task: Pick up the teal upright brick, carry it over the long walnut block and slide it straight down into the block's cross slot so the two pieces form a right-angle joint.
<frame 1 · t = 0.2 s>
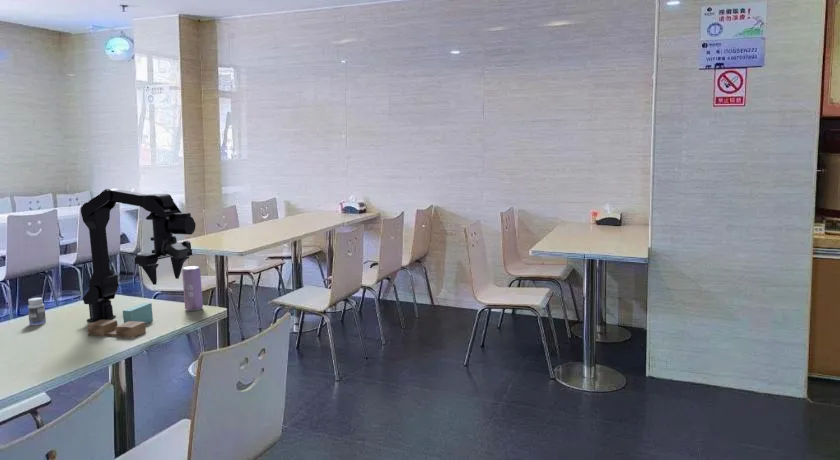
hand: (166, 281, 204), 14 cm above the table, fingers open, 9 cm apart
pill bottle: (38, 324, 210), on the table
beverage can: (194, 309, 223), on the table
teal upright brick: (138, 324, 206), on the table
slotted block: (117, 333, 196), on the table
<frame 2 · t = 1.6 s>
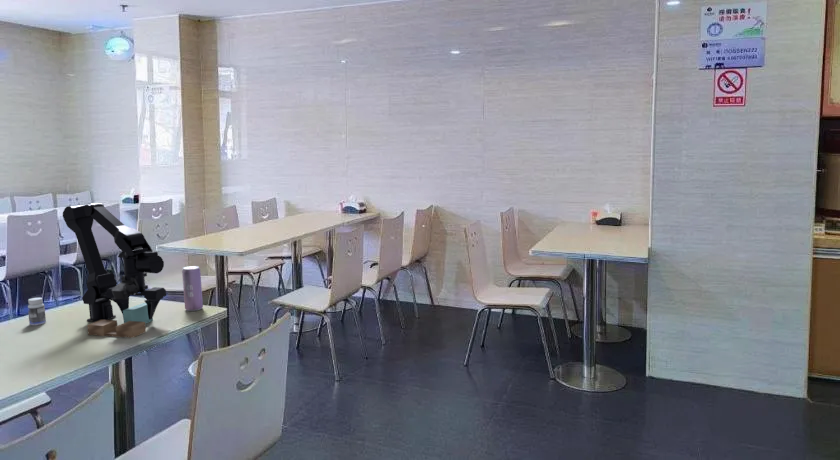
hand: (138, 318, 206), 2 cm above the table, fingers open, 9 cm apart
nothing on the table moved.
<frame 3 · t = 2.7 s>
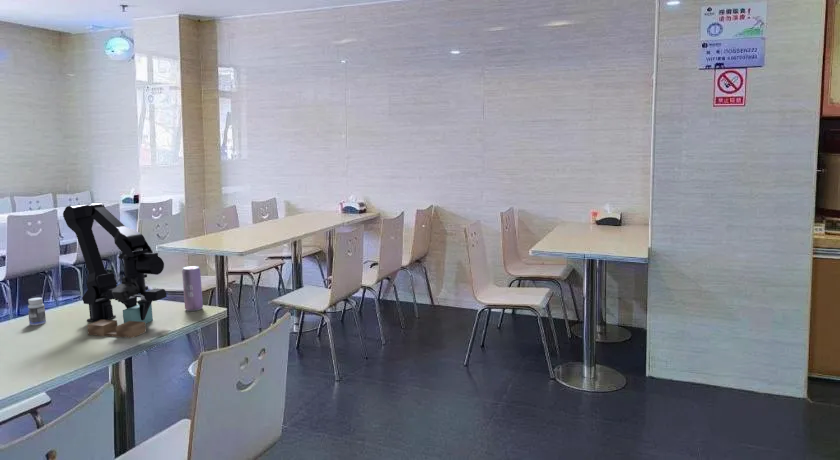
hand: (138, 319, 206), 2 cm above the table, fingers closed on teal upright brick, 3 cm apart
teal upright brick: (138, 324, 206), on the table, touching gripper
everything else where it was.
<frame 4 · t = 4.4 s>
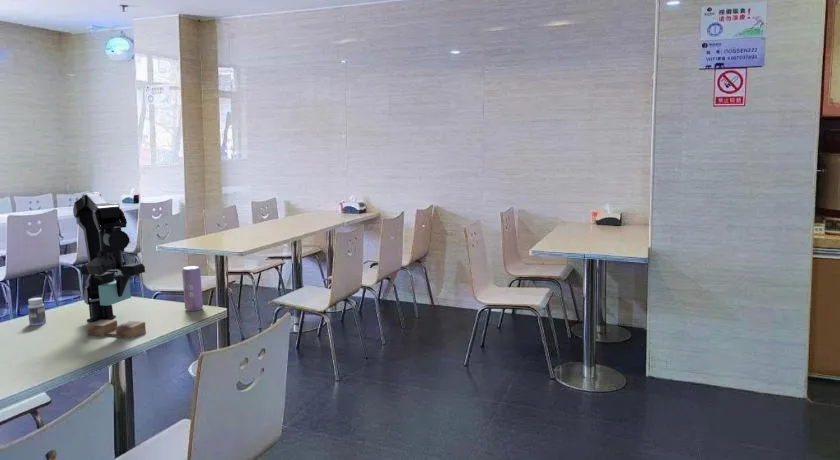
hand: (115, 296, 195), 12 cm above the table, fingers closed on teal upright brick, 3 cm apart
teal upright brick: (115, 301, 195), point 10 cm above the table, touching gripper
everything else where it was.
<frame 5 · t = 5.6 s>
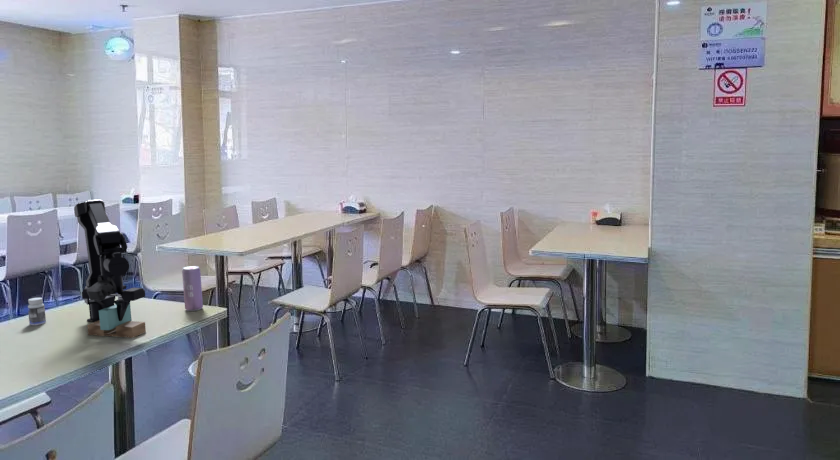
hand: (115, 320, 196), 4 cm above the table, fingers closed on teal upright brick, 3 cm apart
teal upright brick: (116, 325, 196), point 3 cm above the table, touching gripper
everything else where it was.
when the fingers open (4 cm above the table, at t = 6.2 s): teal upright brick drops 2 cm, resting on slotted block.
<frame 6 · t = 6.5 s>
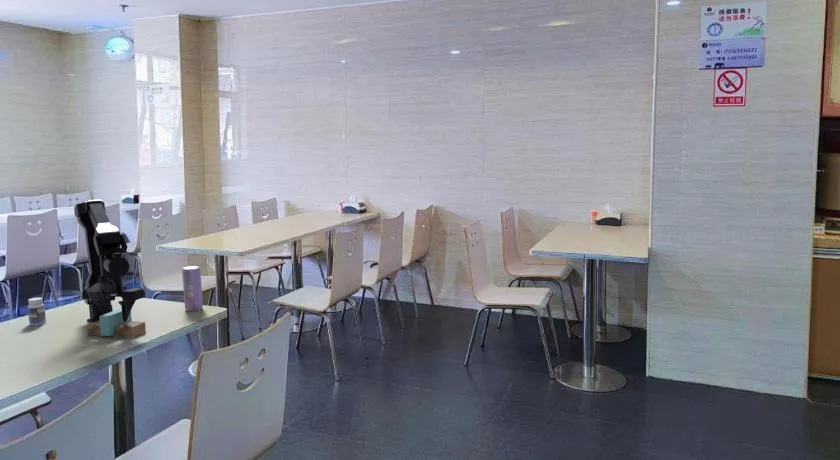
hand: (116, 320, 196), 4 cm above the table, fingers open, 6 cm apart
teal upright brick: (117, 330, 196), point 1 cm above the table, touching slotted block
everything else where it was.
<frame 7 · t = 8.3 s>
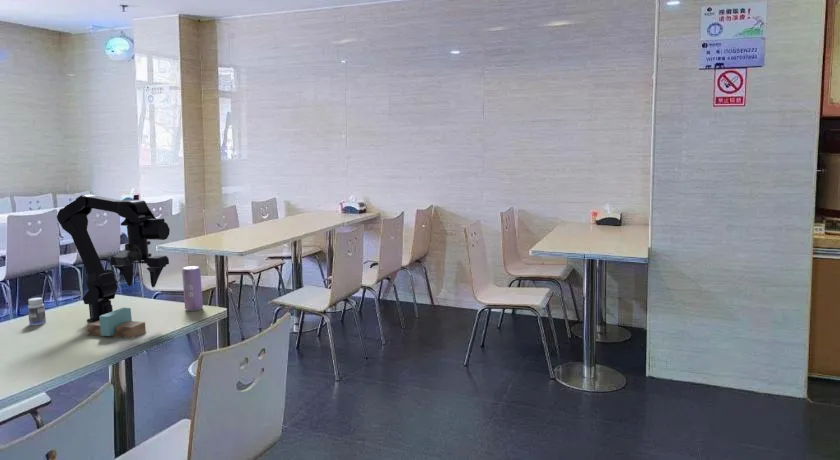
hand: (141, 286, 207), 12 cm above the table, fingers open, 9 cm apart
nothing on the table moved.
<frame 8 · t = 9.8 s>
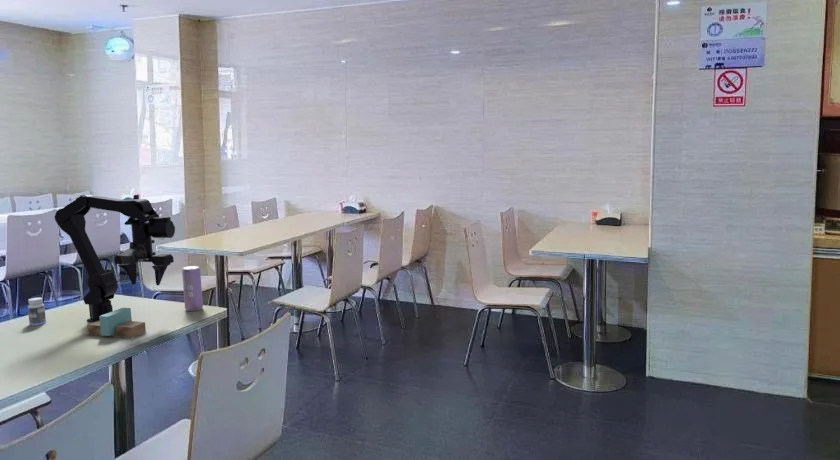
hand: (145, 284, 209), 12 cm above the table, fingers open, 9 cm apart
nothing on the table moved.
at the end: teal upright brick 0.0 cm off-centre on the slotted block, point 0.8 cm above the slotted block's base; teal upright brick tilted 0°; the gripper is holding nothing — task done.
